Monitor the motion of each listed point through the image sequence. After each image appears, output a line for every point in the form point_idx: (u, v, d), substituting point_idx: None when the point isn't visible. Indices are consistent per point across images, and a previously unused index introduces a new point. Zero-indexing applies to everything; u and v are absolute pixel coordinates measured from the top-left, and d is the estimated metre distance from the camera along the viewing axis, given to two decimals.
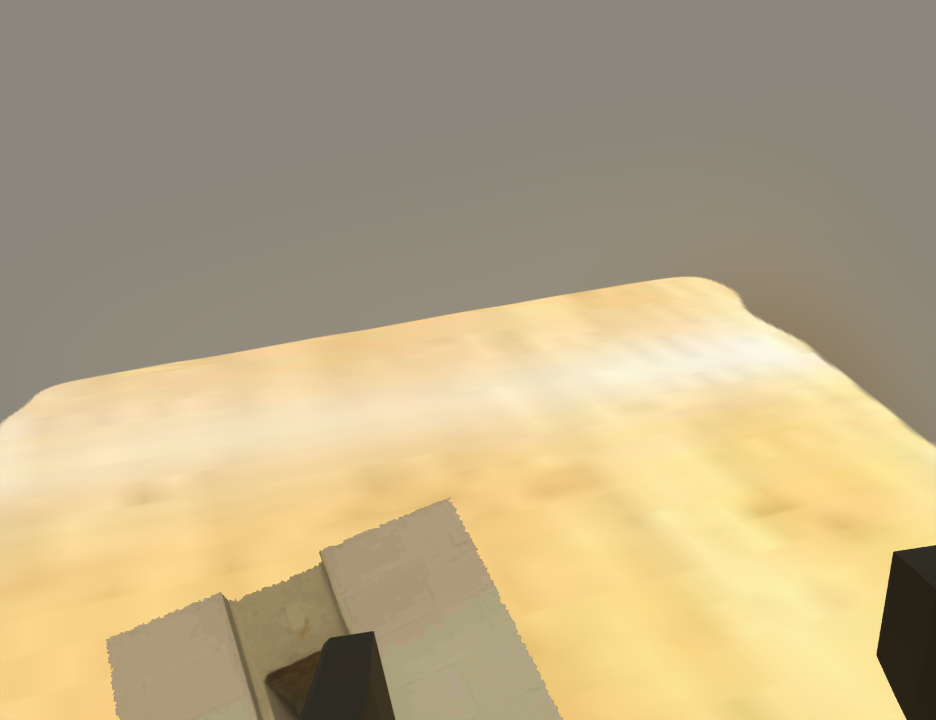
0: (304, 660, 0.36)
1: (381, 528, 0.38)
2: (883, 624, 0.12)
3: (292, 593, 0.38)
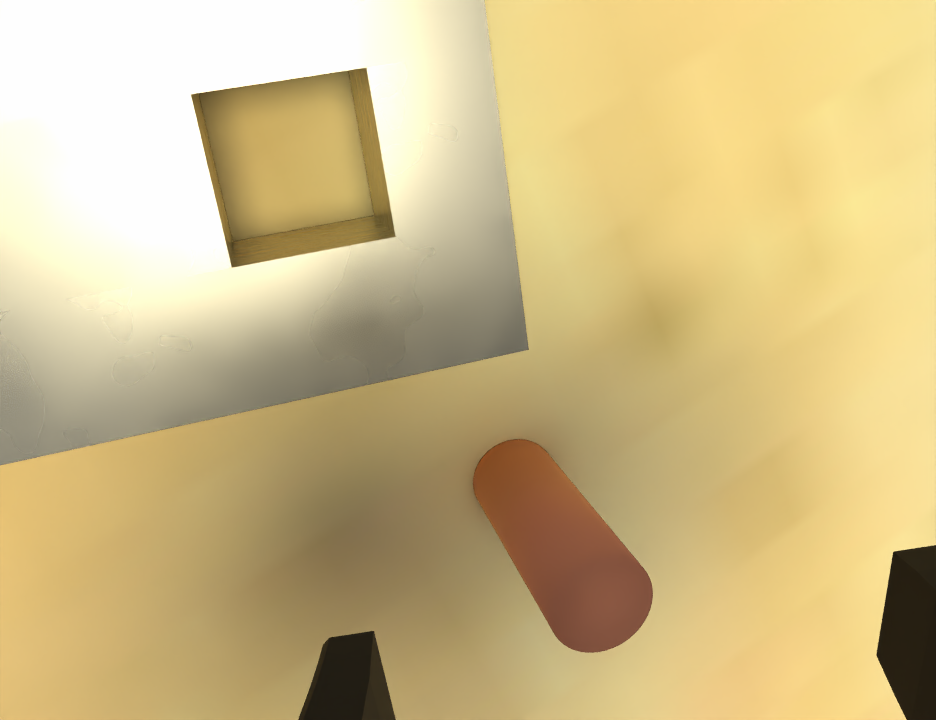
0: None
1: None
2: (883, 624, 0.12)
3: None
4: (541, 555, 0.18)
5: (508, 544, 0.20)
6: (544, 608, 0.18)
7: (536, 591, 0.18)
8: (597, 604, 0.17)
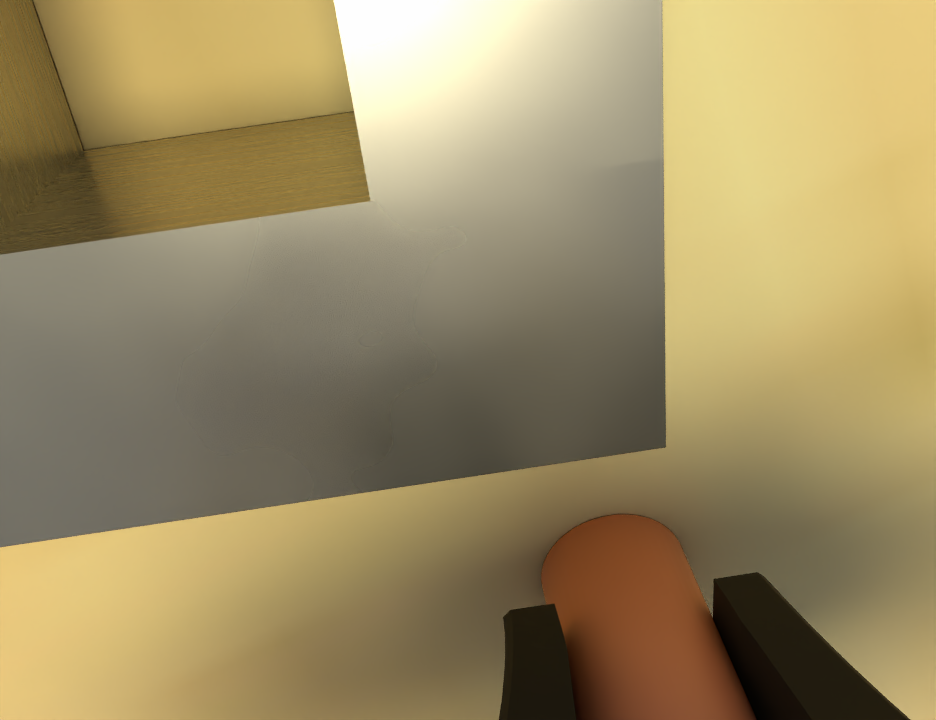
0: None
1: None
2: None
3: None
4: None
5: None
6: None
7: None
8: None
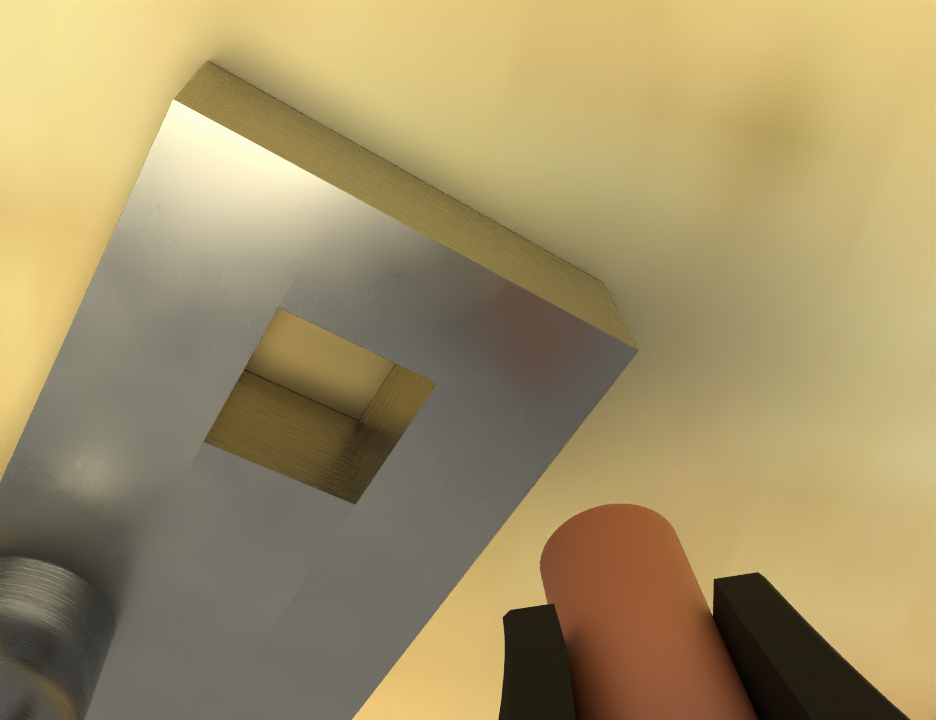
0: None
1: None
2: None
3: None
4: None
5: None
6: None
7: None
8: None
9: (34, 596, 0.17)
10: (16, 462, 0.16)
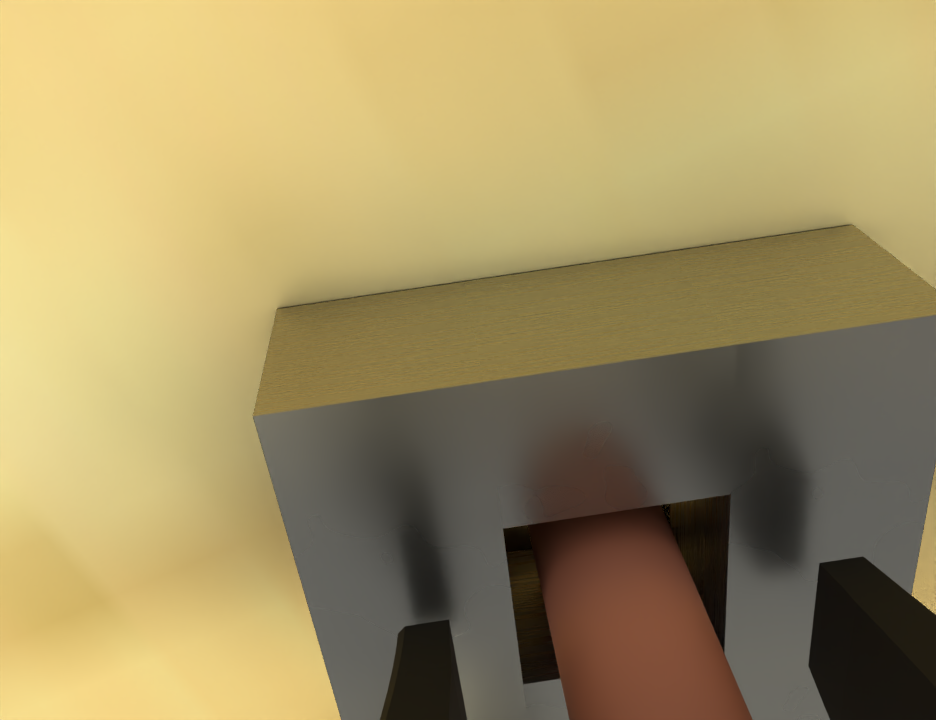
0: None
1: None
2: (813, 635, 0.12)
3: None
4: (581, 683, 0.11)
5: (548, 619, 0.13)
6: None
7: None
8: None
9: None
10: None
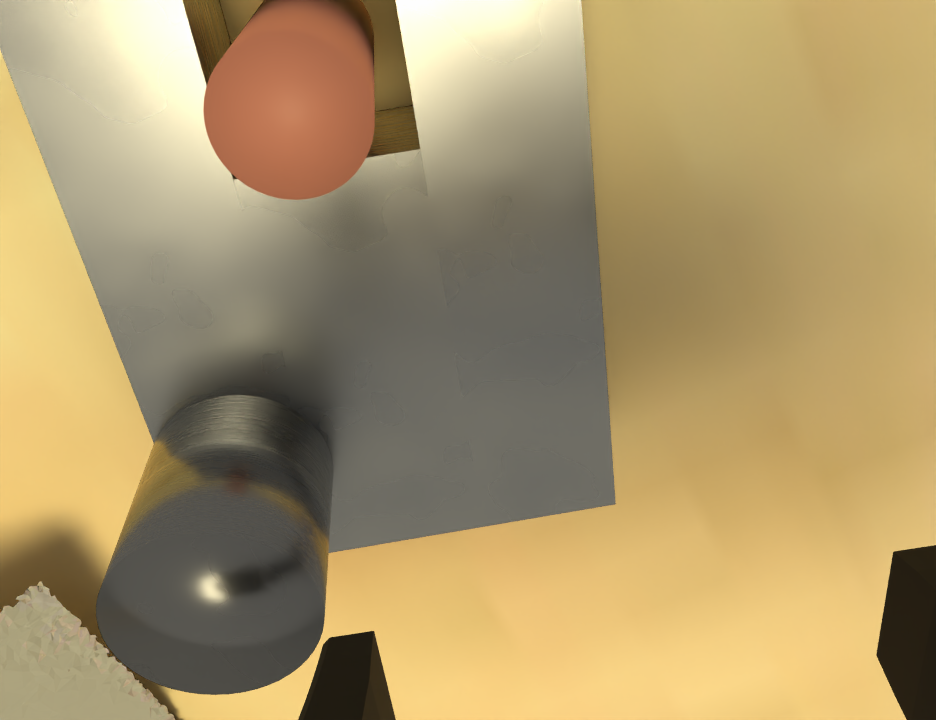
0: None
1: None
2: (883, 624, 0.12)
3: None
4: None
5: None
6: None
7: None
8: (283, 118, 0.12)
9: (208, 423, 0.16)
10: (109, 312, 0.16)
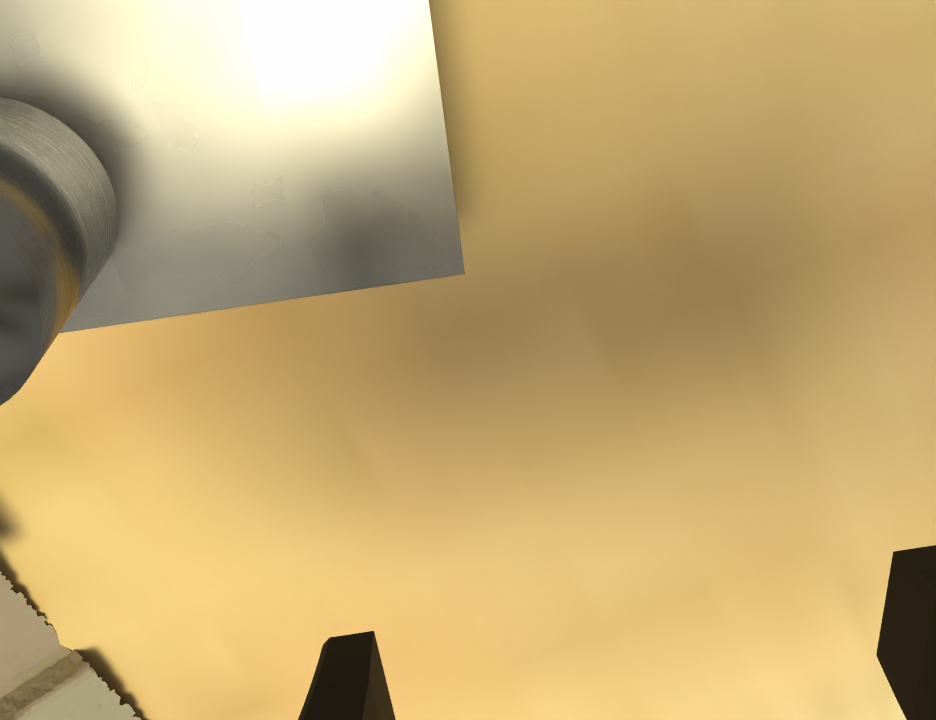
0: None
1: None
2: (883, 624, 0.12)
3: None
4: None
5: None
6: None
7: None
8: None
9: None
10: None
